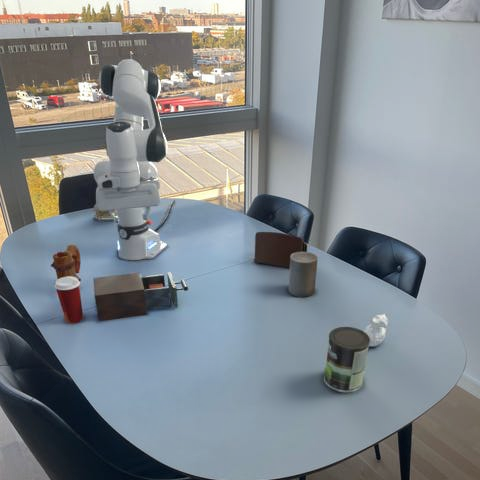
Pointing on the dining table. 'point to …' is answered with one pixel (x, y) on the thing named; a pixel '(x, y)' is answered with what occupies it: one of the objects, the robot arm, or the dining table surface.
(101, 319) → the cabinet
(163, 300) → the drawer
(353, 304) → the dining table surface
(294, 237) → the letter holder
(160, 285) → the block
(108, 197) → the robot arm
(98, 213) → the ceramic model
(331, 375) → the coffee can
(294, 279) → the pillar candle
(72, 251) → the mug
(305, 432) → the dining table surface
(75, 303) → the paper cup
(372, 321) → the bust
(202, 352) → the dining table surface
